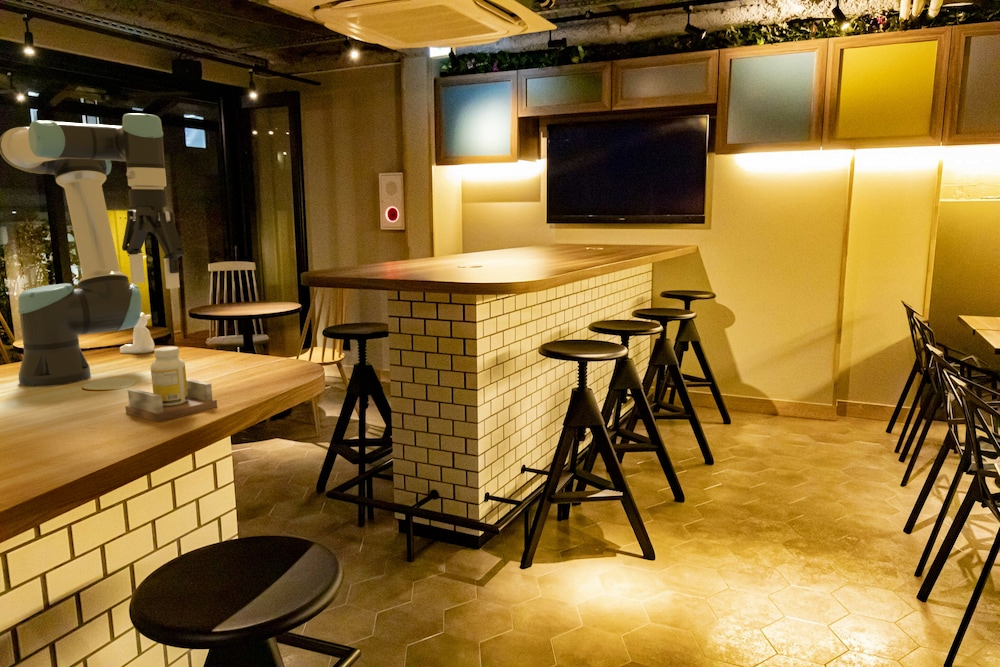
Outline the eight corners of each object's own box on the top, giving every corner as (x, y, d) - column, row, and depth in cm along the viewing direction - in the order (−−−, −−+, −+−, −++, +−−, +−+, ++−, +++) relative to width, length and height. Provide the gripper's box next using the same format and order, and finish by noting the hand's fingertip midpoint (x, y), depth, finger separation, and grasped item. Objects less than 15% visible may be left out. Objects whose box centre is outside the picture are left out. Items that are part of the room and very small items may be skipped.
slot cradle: (126, 413, 147) (123, 389, 146) (183, 399, 158) (181, 377, 157) (159, 422, 141) (157, 397, 140) (217, 406, 151) (215, 383, 151)
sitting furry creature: (149, 347, 218) (145, 309, 216) (165, 350, 214) (162, 310, 212) (118, 353, 211) (114, 312, 209) (135, 356, 206) (131, 315, 204)
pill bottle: (179, 397, 153) (174, 344, 151) (194, 402, 149) (189, 347, 147) (148, 403, 149) (143, 349, 146) (163, 409, 144) (158, 353, 142)
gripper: (99, 187, 158) (108, 282, 162) (164, 188, 145) (172, 292, 149) (132, 187, 164) (140, 279, 169) (197, 189, 151) (204, 288, 155)
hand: (155, 285), depth 159 cm, fingers open, 13 cm apart
